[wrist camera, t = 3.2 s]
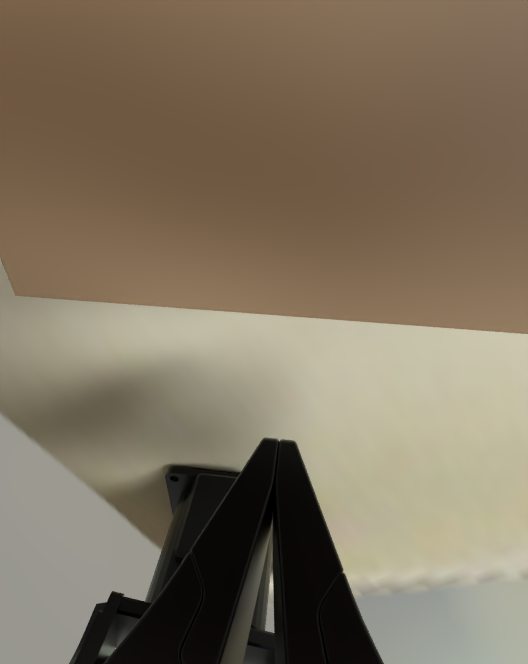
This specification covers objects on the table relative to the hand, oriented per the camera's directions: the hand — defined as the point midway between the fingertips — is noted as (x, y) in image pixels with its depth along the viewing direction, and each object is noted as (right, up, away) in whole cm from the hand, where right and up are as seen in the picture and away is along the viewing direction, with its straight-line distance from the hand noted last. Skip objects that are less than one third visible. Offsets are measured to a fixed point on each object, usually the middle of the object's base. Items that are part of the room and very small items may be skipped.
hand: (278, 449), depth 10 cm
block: (+1, +9, +1) cm, 9 cm away
